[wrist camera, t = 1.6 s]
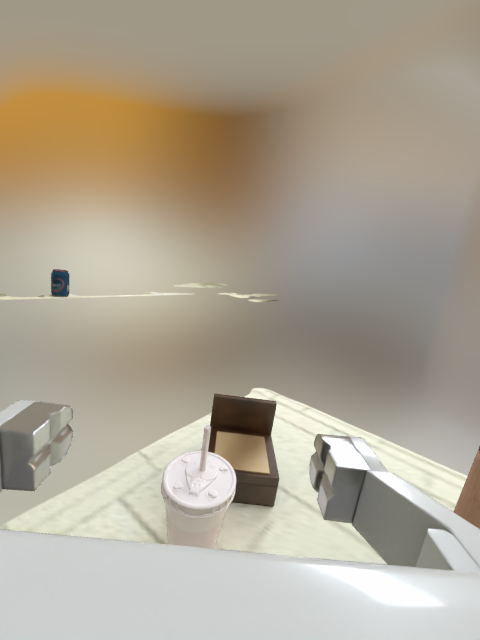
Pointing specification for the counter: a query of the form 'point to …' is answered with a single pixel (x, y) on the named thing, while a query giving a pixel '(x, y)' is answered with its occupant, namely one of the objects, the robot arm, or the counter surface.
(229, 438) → the wooden chair
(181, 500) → the smoothie
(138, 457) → the counter surface
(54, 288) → the soda can
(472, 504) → the travel mug
